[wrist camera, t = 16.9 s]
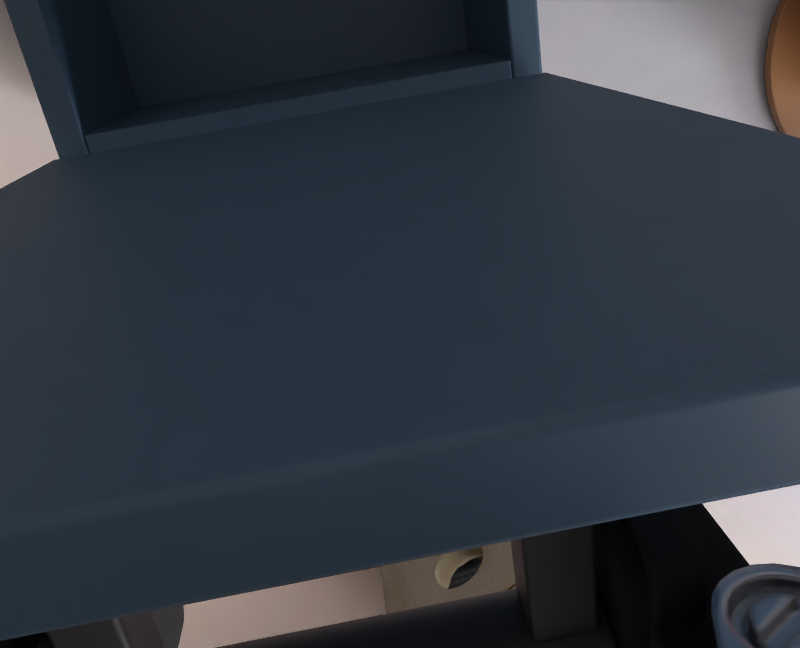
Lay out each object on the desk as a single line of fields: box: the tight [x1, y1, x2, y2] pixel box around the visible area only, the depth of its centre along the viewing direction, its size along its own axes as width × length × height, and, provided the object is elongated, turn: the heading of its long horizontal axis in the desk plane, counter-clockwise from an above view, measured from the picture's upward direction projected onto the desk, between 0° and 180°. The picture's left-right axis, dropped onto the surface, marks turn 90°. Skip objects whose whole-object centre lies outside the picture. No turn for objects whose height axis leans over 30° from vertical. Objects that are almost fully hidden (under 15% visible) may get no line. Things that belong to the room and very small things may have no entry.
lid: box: [0, 73, 800, 648], centre depth 12 cm, size 15×13×5 cm
